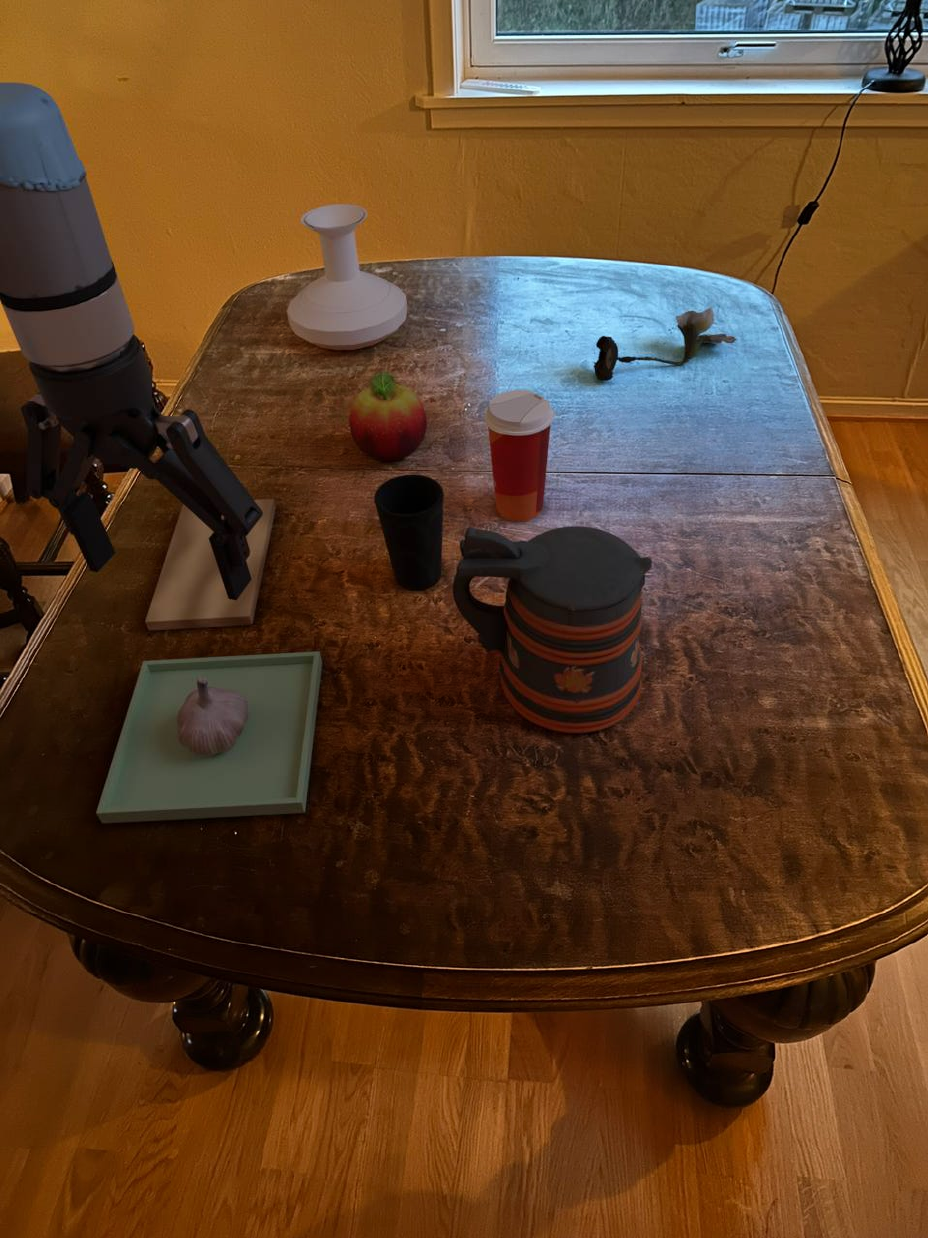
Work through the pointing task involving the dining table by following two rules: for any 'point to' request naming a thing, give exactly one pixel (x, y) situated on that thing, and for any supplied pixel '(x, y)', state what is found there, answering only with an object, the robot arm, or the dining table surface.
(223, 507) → the robot arm
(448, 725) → the dining table surface
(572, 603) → the beer stein
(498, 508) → the coffee cup
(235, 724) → the garlic bulb
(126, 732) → the green square tray
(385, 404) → the fruit
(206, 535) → the cutting board
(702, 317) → the artificial flower
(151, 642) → the dining table surface
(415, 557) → the cup
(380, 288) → the white vase
